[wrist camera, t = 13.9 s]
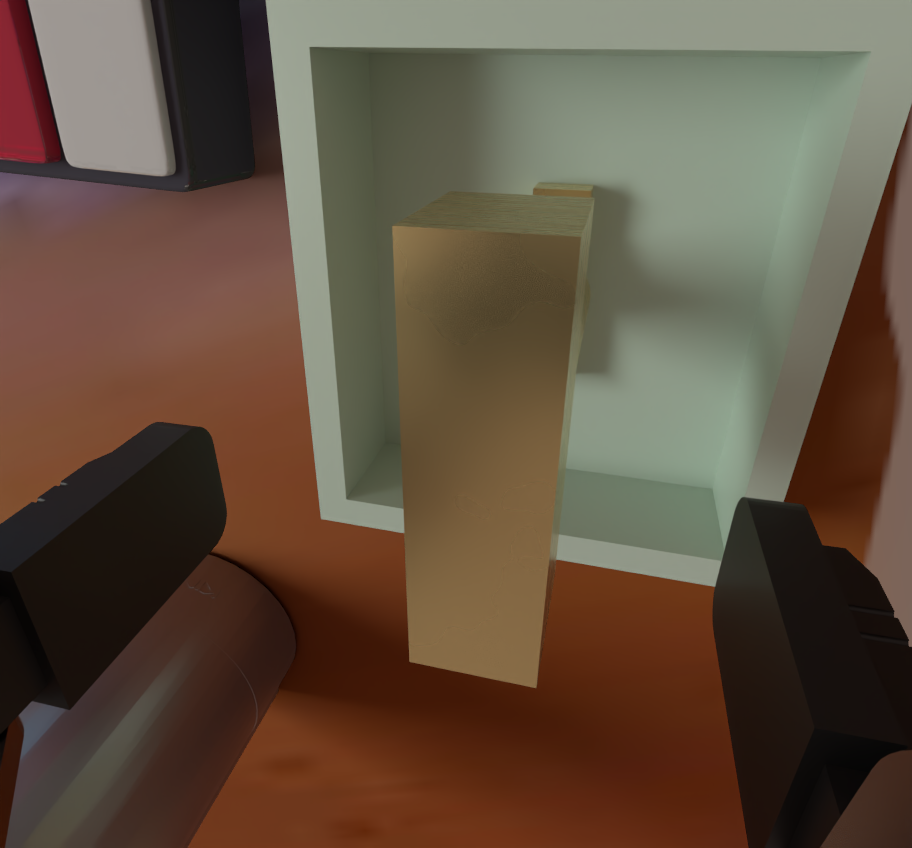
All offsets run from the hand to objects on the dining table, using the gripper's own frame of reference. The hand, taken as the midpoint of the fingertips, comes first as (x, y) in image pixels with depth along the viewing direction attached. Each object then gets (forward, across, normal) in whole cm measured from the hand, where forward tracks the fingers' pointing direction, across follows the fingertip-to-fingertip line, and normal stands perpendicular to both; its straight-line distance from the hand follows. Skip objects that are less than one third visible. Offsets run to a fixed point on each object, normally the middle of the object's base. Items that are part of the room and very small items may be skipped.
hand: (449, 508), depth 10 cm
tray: (+13, 0, 0) cm, 13 cm away
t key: (+12, 0, 0) cm, 12 cm away
